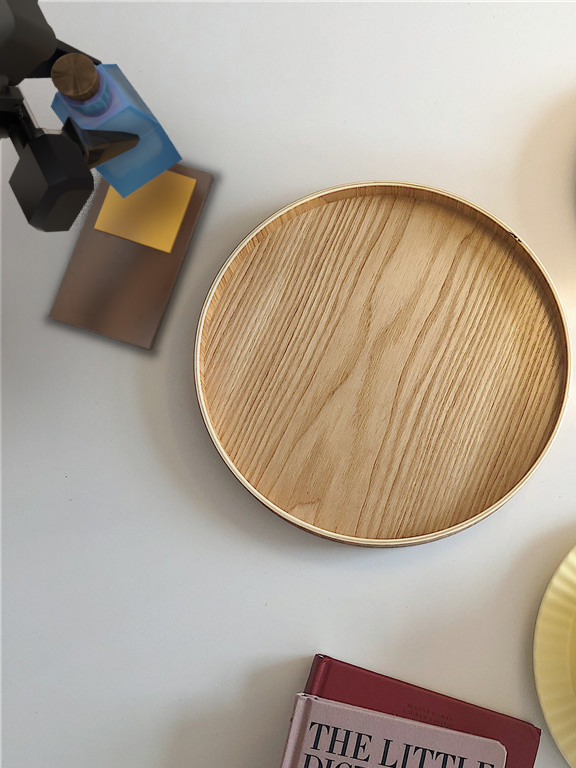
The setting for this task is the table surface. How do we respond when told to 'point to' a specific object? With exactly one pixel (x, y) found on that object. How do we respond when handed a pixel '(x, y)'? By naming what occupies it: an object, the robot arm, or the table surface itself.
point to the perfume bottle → (112, 119)
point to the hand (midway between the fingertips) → (119, 104)
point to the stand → (131, 256)
